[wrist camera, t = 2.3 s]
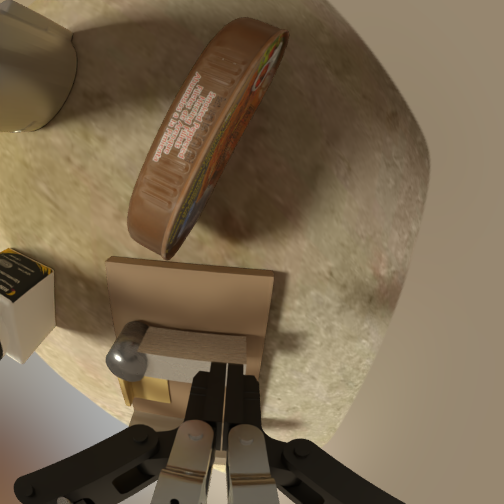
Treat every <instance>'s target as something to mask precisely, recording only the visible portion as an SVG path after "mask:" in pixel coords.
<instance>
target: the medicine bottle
mask: <svg viewBox="0 0 504 504" xmlns="http://www.w3.org/2000/svg"><path fill="white" fill-rule="evenodd" d="M55 326H56V321H55V303H54V270H53V269H52V268H49V267H47V266H45V265H43V264H41V263H39V262H37V261H35V260H33V259H30V258H28V257H26V256H24V255H22V254H20V253H18V252H16V251H15V250H13V249H11V248H8V249H6V250H4V251H2V252H0V360H1V359H2V358H3V356H4V355H5V354H7V355H8V356H9V357H11V358H12V359H14V360H15V361H17V362H18V363H20V364H24V363H25V362H26V360H27V359H28V358H29V357H30V356H31V354H32V353H33V352H34V351H35V350H36V349H37V347H38V346H39V345H40V344H41V343H42V342H43V340H44V339H45V338H46V337H47V336H48V335H49V333H50V332H51V331H52V330H53V329H54V328H55Z"/></svg>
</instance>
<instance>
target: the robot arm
mask: <svg viewBox="0 0 504 504" xmlns="http://www.w3.org/2000/svg"><path fill="white" fill-rule="evenodd" d="M72 35H73V33H72V32H71V31H69V30H67V29H66V28H64V27H62V26H61V25H59V24H57V23H55V22H54V21H52V20H50V19H48V18H46V17H44V16H43V15H41V14H39V13H37V12H35V11H33V10H31V9H29V8H27V7H25V6H23V5H21V4H19V3H17V2H15V1H13V0H6V1H4V2H2V3H0V132H31V131H34V130H37V129H39V128H41V127H42V126H44V125H46V124H47V123H48V122H49V121H50V120H51V119H52V118H53V117H54V116H55V115H56V113H57V112H58V111H59V110H60V108H61V107H62V105H63V104H64V102H65V100H66V99H67V96H68V94H69V92H70V90H71V88H72V85H73V82H74V79H75V74H76V69H77V56H76V51H75V49H74V47H73V45H72V43H71V39H72ZM226 367H227V363H224V362H213V361H211V366H210V372H207V371H199V372H198V373H197V374H196V375H195V376H194V377H193V381H192V385H191V390H190V395H189V399H188V404H187V409H186V414H185V419H184V421H183V423H182V424H181V425H180V426H179V427H177V428H176V429H173V430H169V431H159V432H156V431H155V430H154V429H153V428H151V427H150V426H147V425H144V424H135V425H132V426H130V427H128V428H126V429H125V430H123V431H121V432H119V433H117V434H115V435H113V436H111V437H109V438H107V439H105V440H103V441H101V442H99V443H97V444H95V445H94V446H91V447H90V448H87V449H85V450H83V451H81V452H79V453H77V454H75V455H73V456H70V457H68V458H66V459H64V460H61V461H59V462H57V463H55V464H52V465H49V466H47V467H45V468H42V469H40V470H37V471H35V472H32V473H30V474H27V475H24V476H22V477H19V478H18V479H17V480H16V482H15V484H14V492H15V495H16V497H17V499H18V500H19V501H20V502H21V503H23V504H117V503H120V502H121V501H123V500H125V499H127V498H128V497H130V496H132V495H134V494H135V493H137V492H139V491H140V490H142V489H143V488H145V487H147V486H148V485H150V484H152V483H153V482H155V481H156V480H158V481H157V484H156V487H155V491H154V494H153V497H152V500H151V503H150V504H207V497H208V491H209V486H210V480H211V474H212V469H213V464H214V462H215V452H216V450H219V451H220V449H221V435H222V422H223V408H224V396H225V381H226ZM243 372H244V365H243V364H236V363H228V371H227V384H226V397H225V411H224V425H223V442H222V451H227V453H226V481H227V498H228V504H279V498H278V493H277V488H278V489H279V490H280V491H281V492H282V493H283V494H284V495H286V496H287V497H288V498H289V499H290V500H292V501H293V502H294V503H295V504H405V503H403V502H402V501H400V500H398V499H397V498H395V497H393V496H391V495H390V494H388V493H386V492H385V491H383V490H381V489H380V488H378V487H376V486H375V485H373V484H372V483H370V482H368V481H367V480H365V479H364V478H362V477H361V476H359V475H358V474H356V473H355V472H353V471H352V470H350V469H349V468H347V467H346V466H344V465H343V464H342V463H340V462H339V461H337V460H336V459H335V458H333V457H332V456H330V455H329V454H328V453H326V452H325V451H324V450H322V449H321V448H320V447H318V446H317V445H316V444H314V443H313V442H311V441H309V440H307V439H294V440H291V441H290V442H288V443H286V442H282V441H278V440H275V439H273V438H271V437H269V436H268V435H266V434H265V432H264V431H263V429H262V426H261V410H260V394H259V382H258V381H257V379H256V378H255V376H254V375H243Z"/></svg>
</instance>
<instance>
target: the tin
mask: <svg viewBox="0 0 504 504" xmlns="http://www.w3.org/2000/svg"><path fill="white" fill-rule="evenodd" d="M288 39H289V31H288V30H285V29H279V28H277V27H274V26H272V25H269V24H267V23H264V22H261V21H259V20H255V19H252V18H247V17H243V18H238V19H235V20H233V21H232V22H230V23H228V24H227V25H226V26H225V27H223V28H222V29H221V30H220V31H219V32H218V33H217V34H216V35H215V37H214V38H213V39H212V40H211V41H210V42H209V44H208V45H207V46H206V48H205V49H204V51H203V52H202V54H201V55H200V57H199V58H198V60H197V61H196V63H195V65H194V66H193V68H192V69H191V71H190V73H189V74H188V76H187V78H186V80H185V81H184V83H183V85H182V86H181V88H180V90H179V92H178V94H177V95H176V97H175V99H174V101H173V103H172V105H171V106H170V108H169V110H168V112H167V114H166V116H165V118H164V120H163V122H162V124H161V126H160V128H159V130H158V133H157V135H156V137H155V139H154V141H153V143H152V146H151V148H150V150H149V152H148V154H147V157H146V159H145V162H144V164H143V166H142V169H141V171H140V174H139V176H138V179H137V181H136V184H135V187H134V190H133V193H132V196H131V200H130V204H129V209H128V216H127V226H128V231H129V234H130V236H131V238H132V239H133V240H135V241H136V242H137V243H139V244H141V245H142V246H144V247H146V248H148V249H150V250H151V251H153V252H155V253H157V254H159V255H161V256H162V257H163V259H164V260H169V259H171V258H172V257H173V256H174V255H175V253H176V252H177V251H178V250H179V248H180V247H181V245H182V244H183V242H184V241H185V239H186V237H187V236H188V234H189V233H190V231H191V230H192V228H193V227H194V225H195V223H196V222H197V220H198V218H199V216H200V214H201V213H202V211H203V209H204V207H205V205H206V203H207V201H208V199H209V197H210V195H211V193H212V191H213V190H214V187H215V185H216V184H217V182H218V179H219V178H220V176H221V174H222V172H223V170H224V168H225V166H226V164H227V162H228V160H229V158H230V156H231V154H232V153H233V151H234V149H235V147H236V145H237V143H238V141H239V139H240V138H241V136H242V134H243V132H244V130H245V129H246V127H247V125H248V123H249V121H250V120H251V118H252V116H253V114H254V112H255V111H256V109H257V107H258V105H259V104H260V102H261V100H262V98H263V96H264V94H265V92H266V91H267V89H268V87H269V85H270V83H271V81H272V79H273V77H274V75H275V73H276V71H277V69H278V67H279V64H280V62H281V60H282V57H283V55H284V52H285V49H286V47H287V44H288Z"/></svg>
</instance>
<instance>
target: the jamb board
mask: <svg viewBox="0 0 504 504" xmlns="http://www.w3.org/2000/svg"><path fill="white" fill-rule="evenodd" d="M105 266H106V275H107V284H108V292H109V299H110V306H111V312H112V318H113V324H114V329H115V335H116V339H117V337H118V336H119V334H120V332H121V331H122V329H123V327H124V326H125V325H126V324H127V323H128V322H132V321H138V322H142V323H144V324H146V325H148V326H149V327H156V328H163V329H171V330H179V331H188V332H197V333H207V334H218V335H230V336H244V337H246V359H247V365H246V374H245V375H254V376H255V378H256V379H257V381H258V379H259V373H260V367H261V361H262V354H263V348H264V342H265V335H266V329H267V322H268V316H269V309H270V302H271V295H272V288H273V281H274V275H273V271H271V270H258V269H245V268H233V267H221V266H209V265H198V264H187V263H176V262H165V261H154V260H144V259H134V258H124V257H114V256H111V257H110V258H109V259H107V260H106V261H105ZM118 380H119V384H120V387H121V390H122V394H123V397H124V400H125V403H126V406H131V404H133V407H134V413H133V416H132V418H131V421H130V424H129V427H130V426H132V425H135V424H144V425H147V426H150V427H151V428H153V429H154V430H155V431H156V432H159V431H169V430H173V429H176V428H177V427H179V426H180V425H181V424H182V423H183V421H184V419H185V414H186V409H187V404H188V399H189V395H190V390H191V385H192V383H186V382H178V381H171V380H165V379H158V378H152V377H147V376H144V377H143V378H142V379H141V380H140V381H136V382H129V381H125V380H123V379H121V378H119V377H118ZM225 397H226V386H225V396H224V408H223V422H222V435H221V449H220V451H219V450H216V452H215V462H214V464H218V465H226V453H227V451H222V442H223V425H224V411H225Z"/></svg>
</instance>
